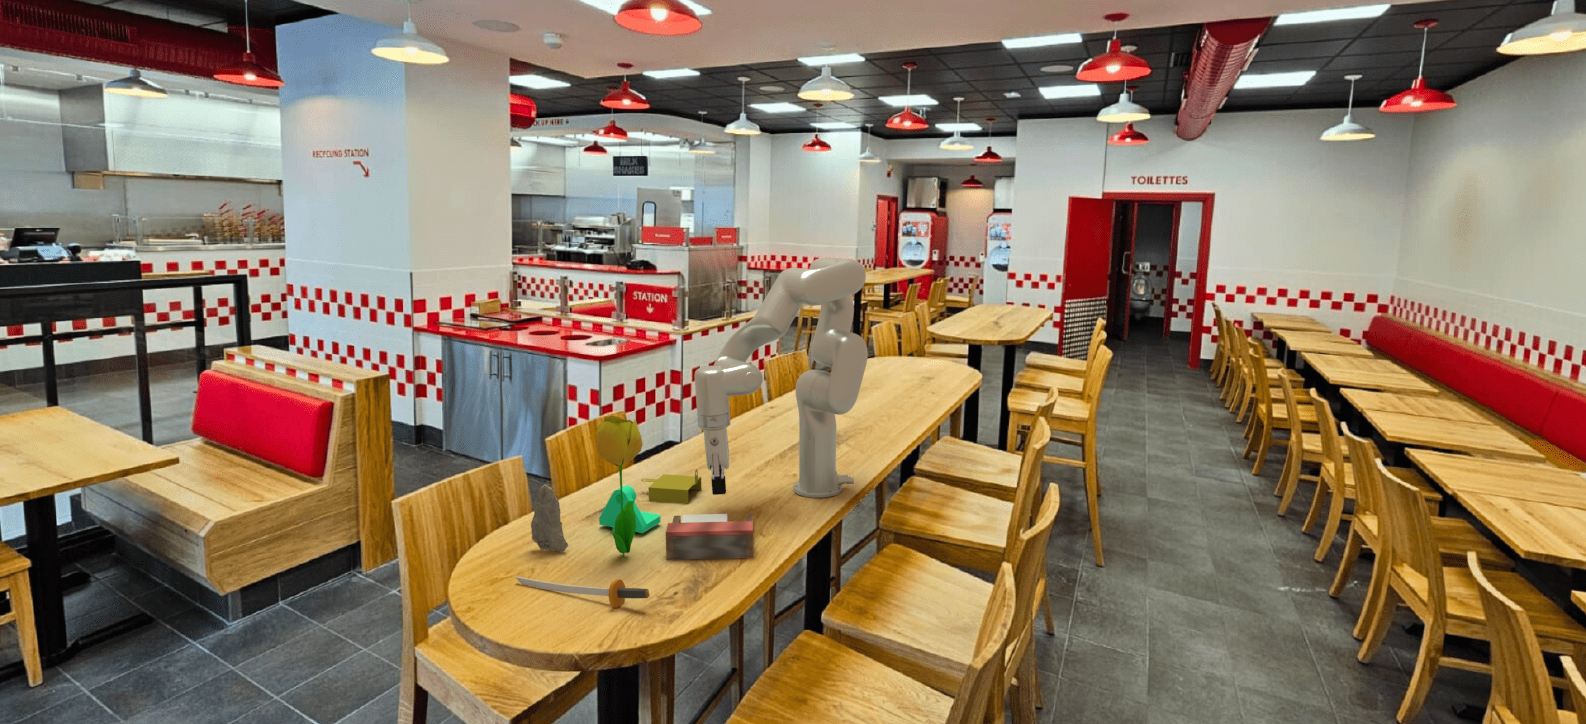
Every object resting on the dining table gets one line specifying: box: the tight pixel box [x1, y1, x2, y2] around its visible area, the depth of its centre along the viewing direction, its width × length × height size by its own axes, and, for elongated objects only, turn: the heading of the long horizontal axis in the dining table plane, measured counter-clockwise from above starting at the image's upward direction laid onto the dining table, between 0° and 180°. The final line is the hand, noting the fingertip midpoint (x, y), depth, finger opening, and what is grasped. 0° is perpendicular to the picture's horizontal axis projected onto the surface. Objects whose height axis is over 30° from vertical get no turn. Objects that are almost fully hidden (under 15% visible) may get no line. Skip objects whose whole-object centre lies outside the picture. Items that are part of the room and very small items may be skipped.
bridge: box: [665, 513, 754, 561], centre depth 173 cm, size 18×18×6 cm
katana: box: [514, 575, 651, 609], centre depth 147 cm, size 30×4×5 cm, turn 68°
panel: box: [681, 513, 728, 523], centre depth 173 cm, size 10×16×4 cm, turn 4°
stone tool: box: [530, 483, 569, 553], centre depth 167 cm, size 8×3×15 cm, turn 75°
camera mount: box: [598, 484, 661, 534], centre depth 180 cm, size 12×8×10 cm, turn 65°
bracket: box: [640, 469, 703, 505], centre depth 201 cm, size 16×8×15 cm
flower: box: [595, 415, 643, 558], centre depth 163 cm, size 9×8×30 cm
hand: (719, 492), depth 188 cm, fingers closed
